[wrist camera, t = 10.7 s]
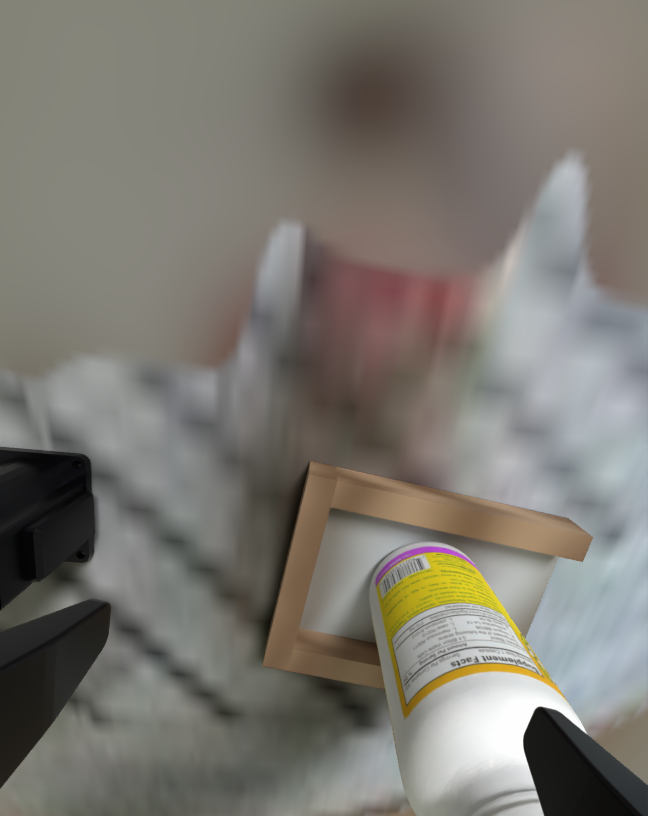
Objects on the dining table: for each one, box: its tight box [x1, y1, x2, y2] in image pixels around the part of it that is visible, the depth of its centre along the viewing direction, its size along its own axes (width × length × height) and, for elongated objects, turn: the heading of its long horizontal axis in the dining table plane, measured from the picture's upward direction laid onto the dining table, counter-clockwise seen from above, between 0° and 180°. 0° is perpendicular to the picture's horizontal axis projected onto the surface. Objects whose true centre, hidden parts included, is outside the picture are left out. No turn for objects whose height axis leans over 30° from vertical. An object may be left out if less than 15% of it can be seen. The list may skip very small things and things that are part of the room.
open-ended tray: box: [262, 461, 593, 689], centre depth 21 cm, size 16×12×2 cm
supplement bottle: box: [369, 541, 587, 816], centre depth 16 cm, size 7×7×13 cm
